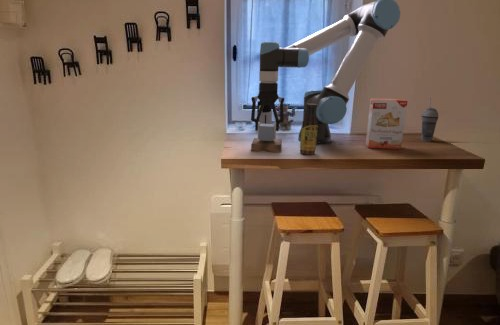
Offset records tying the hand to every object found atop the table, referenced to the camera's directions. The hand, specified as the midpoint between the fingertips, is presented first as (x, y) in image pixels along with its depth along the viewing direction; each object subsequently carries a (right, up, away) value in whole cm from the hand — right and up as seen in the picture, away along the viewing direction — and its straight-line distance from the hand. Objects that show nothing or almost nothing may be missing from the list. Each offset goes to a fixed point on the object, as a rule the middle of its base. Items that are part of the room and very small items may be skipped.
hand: (266, 138), depth 155 cm
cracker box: (+51, -4, +6) cm, 51 cm away
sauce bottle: (+16, -7, -6) cm, 19 cm away
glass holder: (0, +6, +39) cm, 40 cm away
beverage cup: (+77, 0, +20) cm, 79 cm away
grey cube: (0, 0, 0) cm, 1 cm away
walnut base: (0, -4, +1) cm, 4 cm away
